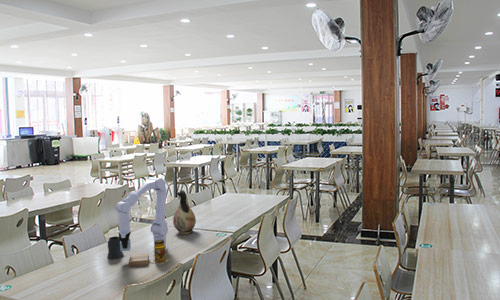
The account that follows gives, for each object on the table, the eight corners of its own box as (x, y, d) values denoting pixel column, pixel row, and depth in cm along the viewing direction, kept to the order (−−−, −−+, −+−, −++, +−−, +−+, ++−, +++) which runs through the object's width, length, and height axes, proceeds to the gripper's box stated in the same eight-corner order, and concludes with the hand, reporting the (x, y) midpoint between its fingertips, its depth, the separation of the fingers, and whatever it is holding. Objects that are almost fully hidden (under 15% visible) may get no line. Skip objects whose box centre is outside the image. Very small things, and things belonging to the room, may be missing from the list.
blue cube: (121, 248, 232) (121, 239, 232) (130, 247, 233) (130, 239, 233) (120, 251, 227) (119, 242, 227) (129, 250, 228) (129, 241, 228)
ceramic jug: (171, 231, 287) (168, 189, 284) (192, 227, 293) (190, 186, 290) (177, 237, 271) (175, 193, 269) (199, 234, 278) (197, 190, 275)
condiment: (160, 264, 224) (159, 243, 223) (149, 262, 228) (147, 241, 227) (169, 260, 230) (168, 239, 229) (158, 258, 234) (157, 237, 233)
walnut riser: (130, 260, 231) (130, 255, 231) (149, 258, 233) (148, 253, 233) (129, 267, 222) (128, 261, 221) (148, 265, 223) (147, 259, 223)
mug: (118, 259, 234) (116, 240, 233) (103, 259, 236) (102, 239, 235) (129, 252, 245) (127, 234, 244) (115, 251, 247) (114, 233, 246)
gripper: (118, 220, 235) (120, 243, 237) (114, 227, 221) (116, 251, 222) (131, 219, 236) (132, 242, 238) (128, 226, 222) (130, 250, 224)
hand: (125, 246), depth 230 cm, fingers closed on blue cube, 5 cm apart
